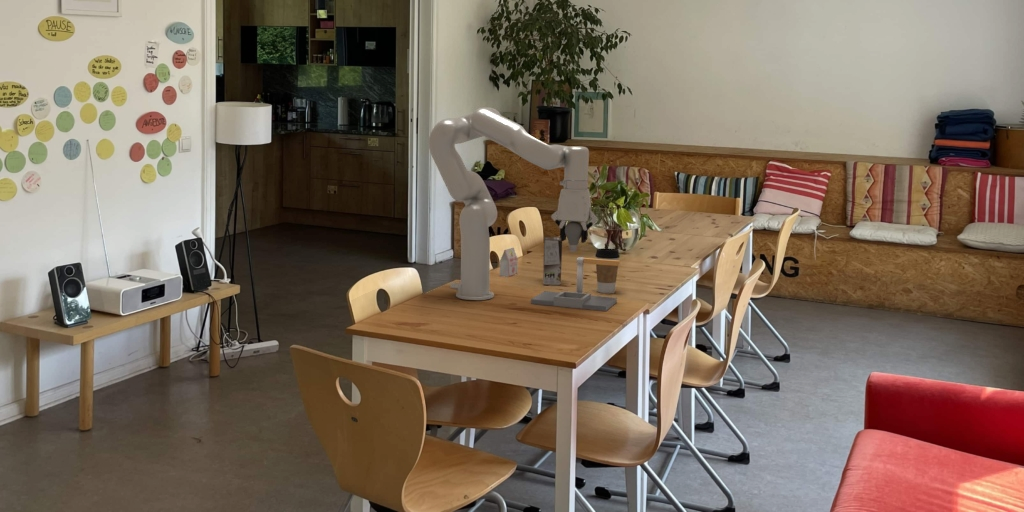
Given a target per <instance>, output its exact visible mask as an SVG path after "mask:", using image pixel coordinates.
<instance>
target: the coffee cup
mask: <svg viewBox="0 0 1024 512" xmlns="http://www.w3.org/2000/svg"><path fill="white" fill-rule="evenodd" d="M619 258H620V253H619V249H615V248H604V247H603V248H598V249H596V252H595V259H606V260H619ZM595 267H596V283H597V284H596V285H597V292H598V293H601V294H614V293H615V291H616V283H617V278H618V277H617V276H618V269H619V266H613V265H600V264H595Z"/></svg>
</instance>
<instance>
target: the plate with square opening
mask: <svg viewBox="0 0 1024 512" xmlns="http://www.w3.org/2000/svg"><path fill="white" fill-rule="evenodd" d="M576 265H577V267H576V292H575V291H568V290H567V291H565V290H564V291H561V292H558V291H548V290H544V291H542V292H541V293H539V294H537V295H536V296H534V297H532V298H531V299H530V304H531V305H537V306H538V305H539V306H540V305H541V306H548V307H550V306H552V307H561V308H572V309H581V310H588V309H589V310H590V311H600V312H607V311H608V310H609V309H611V308H612V307H613V306H614V305H615V304H617V302H618V299H617V297H612V296H611V297H610V296H601V295H600V296H599V295H592V293H587V292H586V293H585V292H584V291H583V288H584V286H583V285H584V263H577V262H576Z"/></svg>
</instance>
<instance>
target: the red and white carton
mask: <svg viewBox="0 0 1024 512" xmlns="http://www.w3.org/2000/svg"><path fill="white" fill-rule="evenodd" d="M518 261H519V258H518V256H517V254H516V250H515V248H514V247H510V248H506V249H504V250H503V253H502V255H501V257H500V260H499V277H503V276H505V277H504V278H511V277H513V276H512V275H514V276H516V275H515V274H517V275H518V265H519V264H518V263H519V262H518Z"/></svg>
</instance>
